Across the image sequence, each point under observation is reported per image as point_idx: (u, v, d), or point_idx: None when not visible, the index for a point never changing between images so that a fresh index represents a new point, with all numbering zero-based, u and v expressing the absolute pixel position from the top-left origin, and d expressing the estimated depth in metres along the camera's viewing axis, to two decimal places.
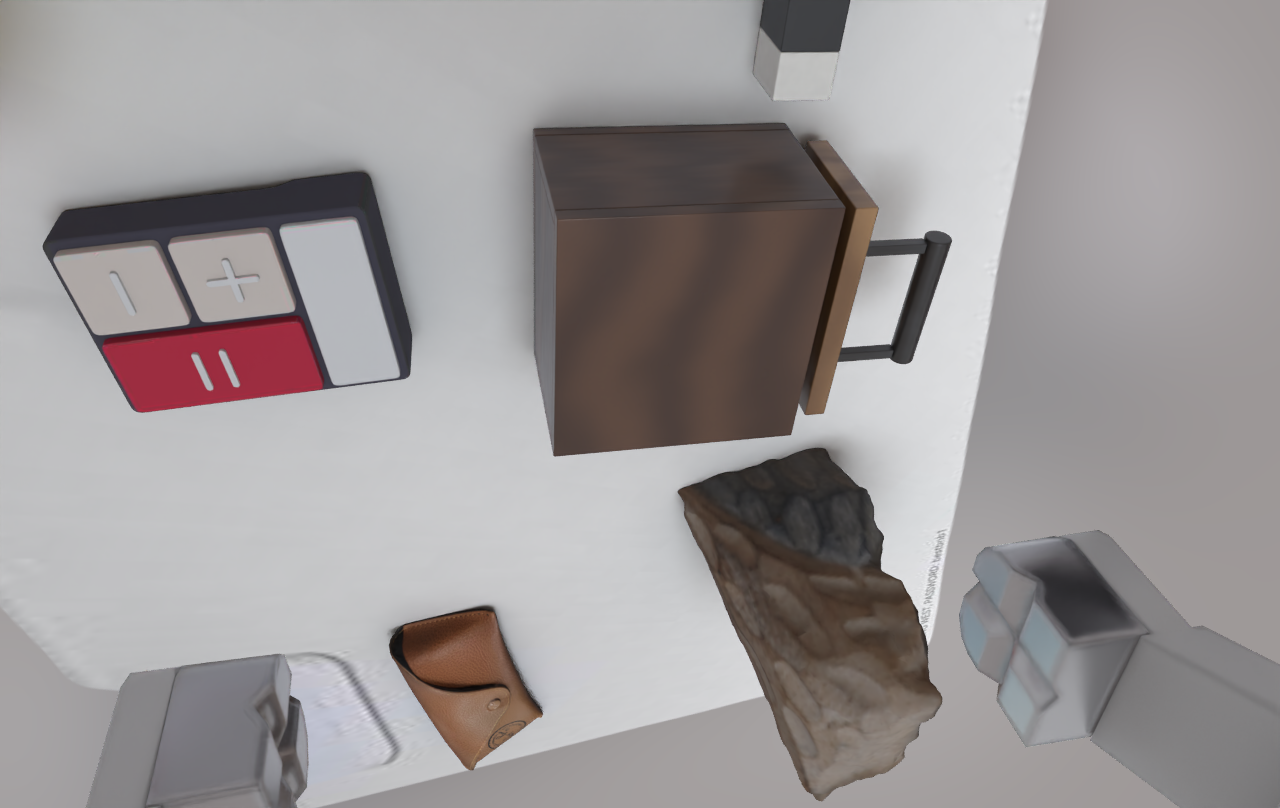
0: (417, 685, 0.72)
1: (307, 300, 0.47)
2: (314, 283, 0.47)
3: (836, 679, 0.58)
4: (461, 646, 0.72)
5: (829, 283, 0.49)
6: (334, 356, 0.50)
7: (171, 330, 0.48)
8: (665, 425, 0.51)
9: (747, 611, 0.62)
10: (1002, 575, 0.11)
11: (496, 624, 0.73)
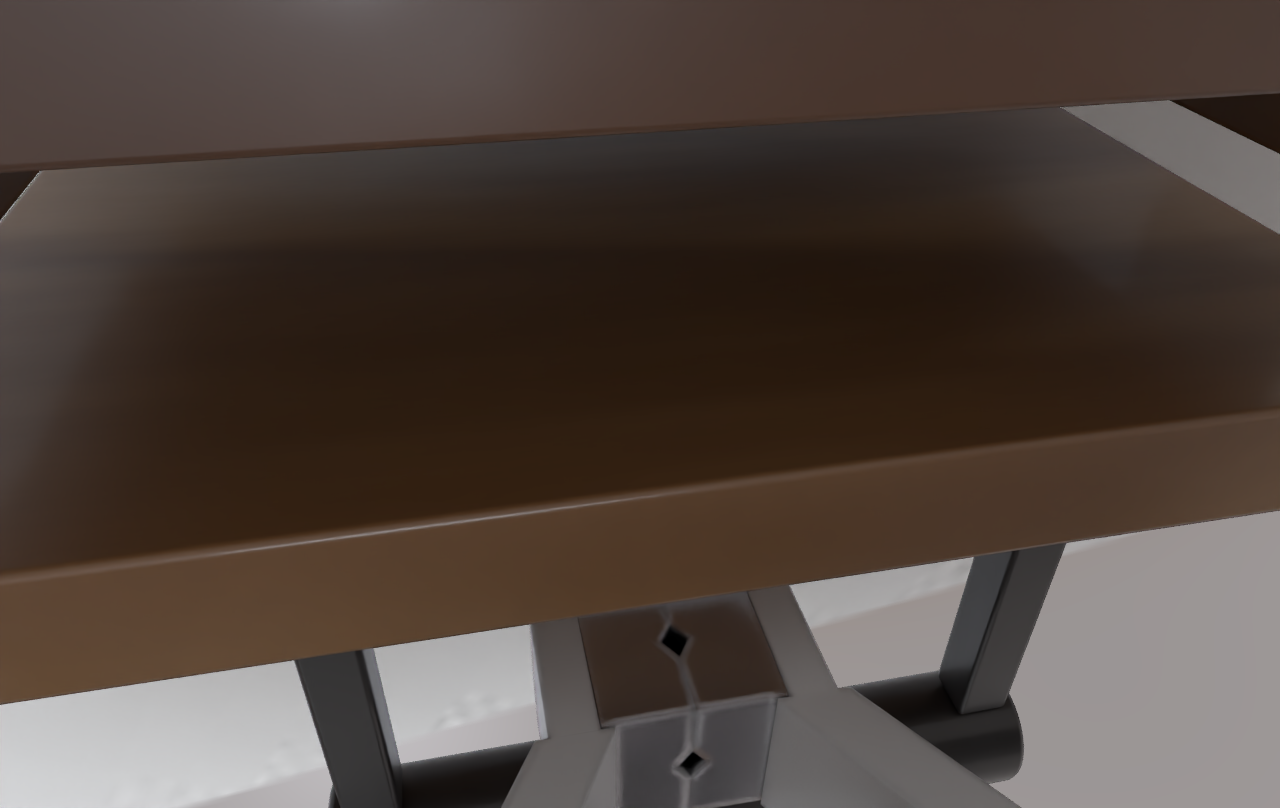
0: None
1: None
2: None
3: None
4: None
5: (947, 382, 0.08)
6: None
7: None
8: None
9: None
10: (665, 628, 0.10)
11: None
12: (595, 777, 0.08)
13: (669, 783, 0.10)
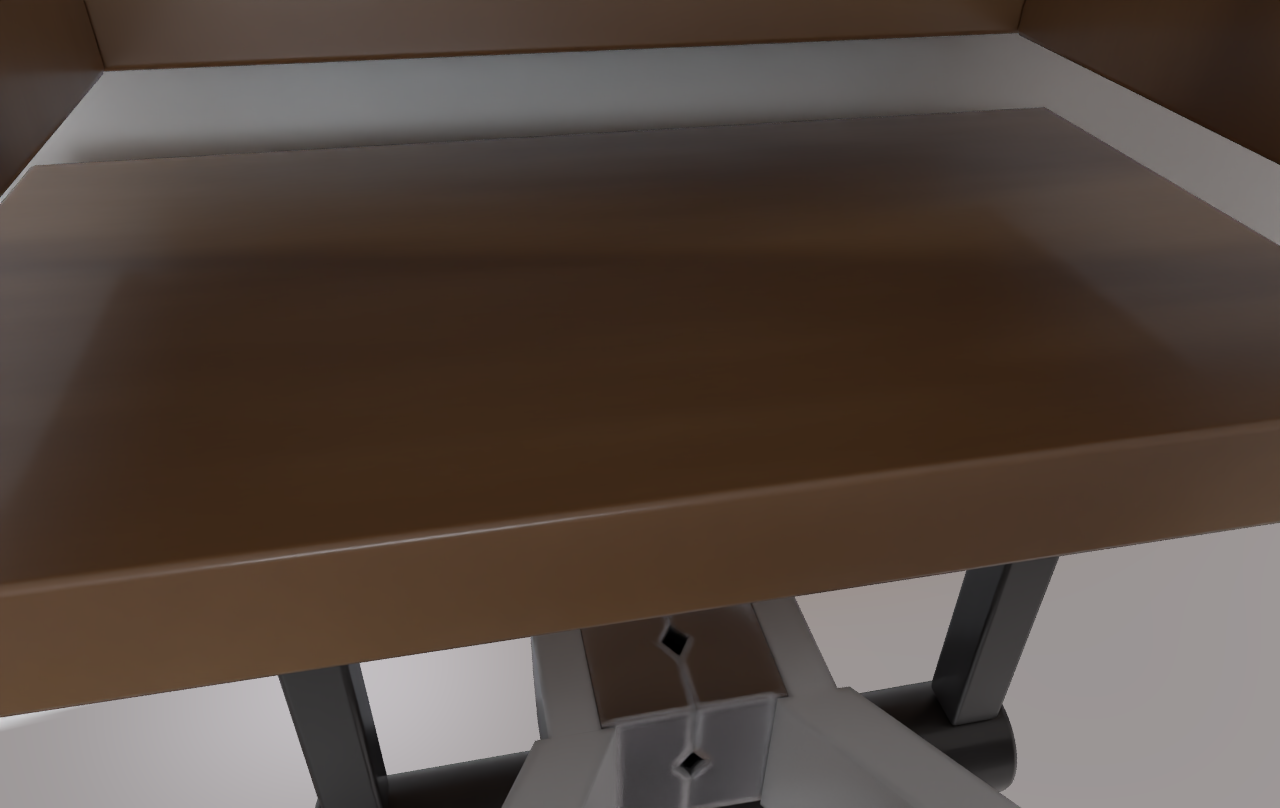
0: None
1: None
2: None
3: None
4: None
5: (939, 394, 0.08)
6: None
7: None
8: None
9: None
10: (665, 627, 0.10)
11: None
12: (596, 777, 0.08)
13: (669, 783, 0.10)
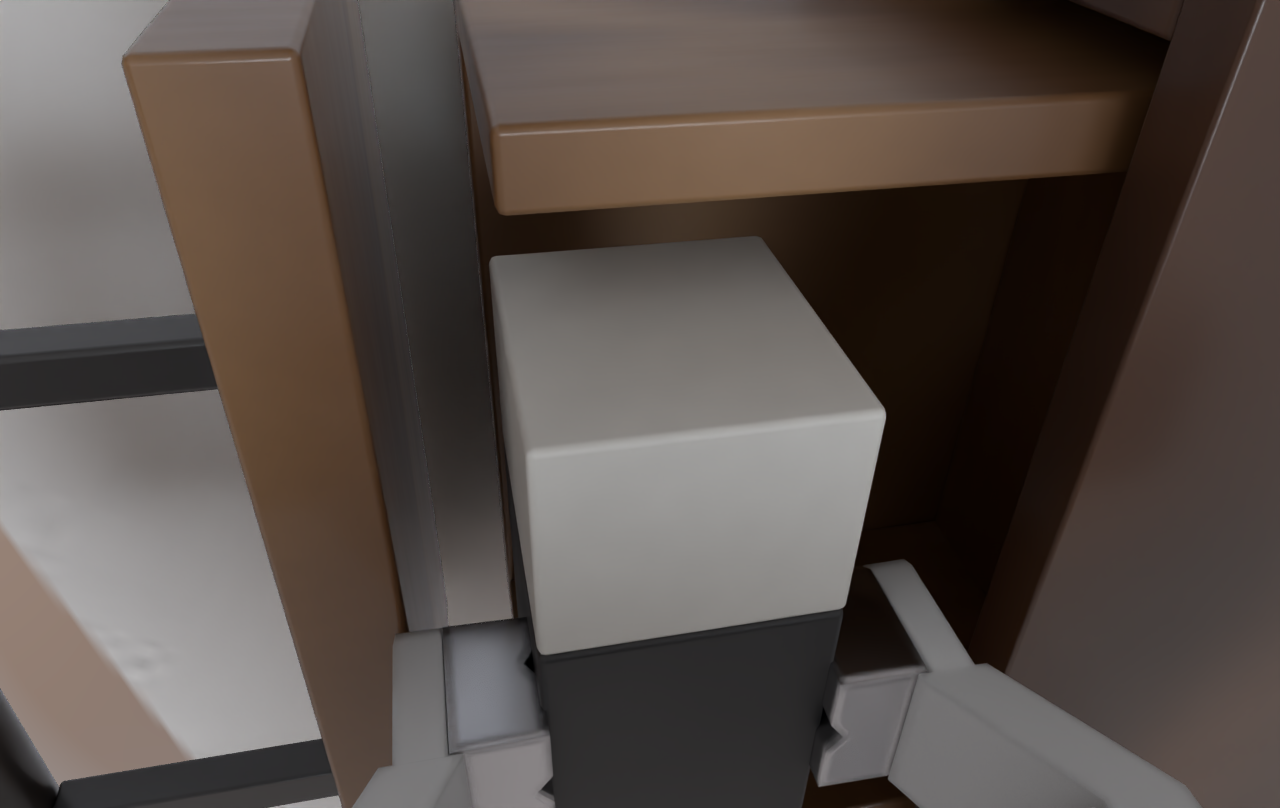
0: None
1: None
2: None
3: None
4: None
5: None
6: None
7: None
8: None
9: None
10: None
11: None
12: (435, 806, 0.08)
13: None
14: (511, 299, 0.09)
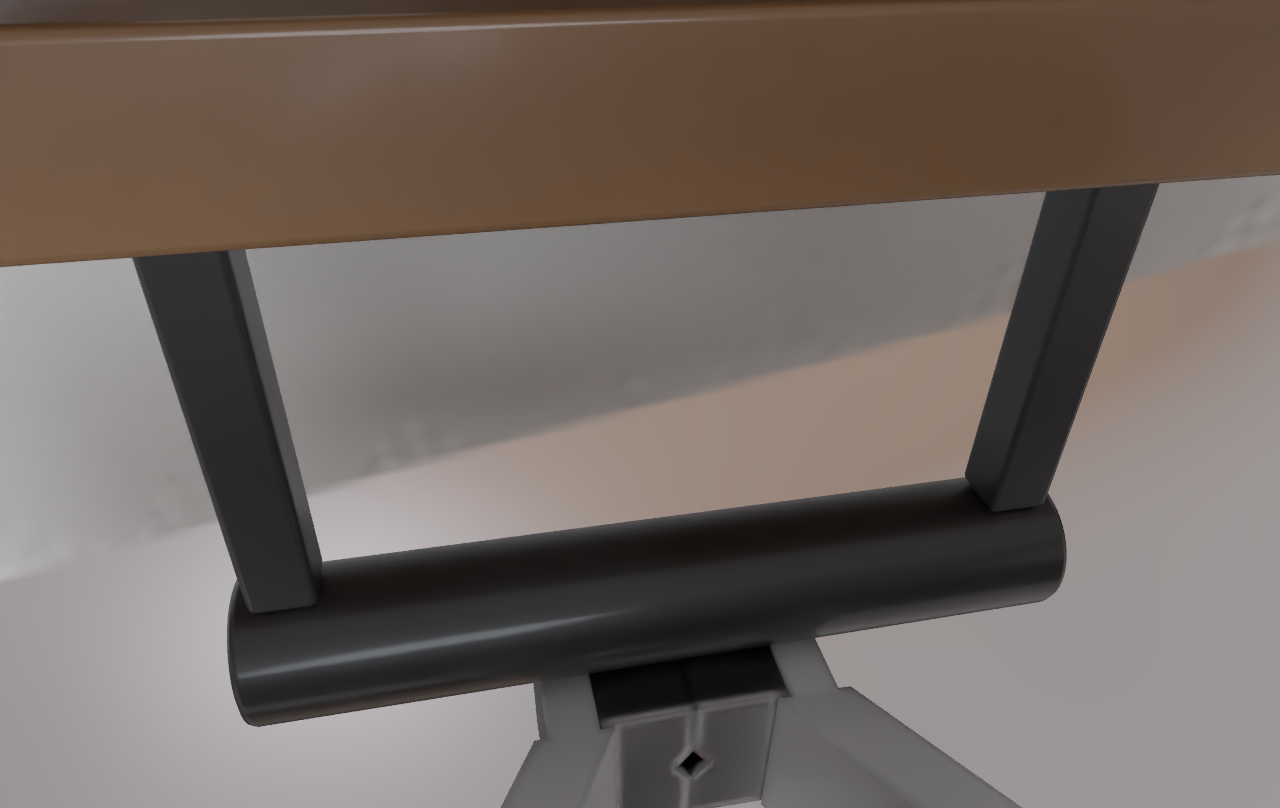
0: None
1: None
2: None
3: None
4: None
5: None
6: None
7: None
8: None
9: None
10: None
11: None
12: (595, 777, 0.08)
13: (669, 783, 0.10)
14: None
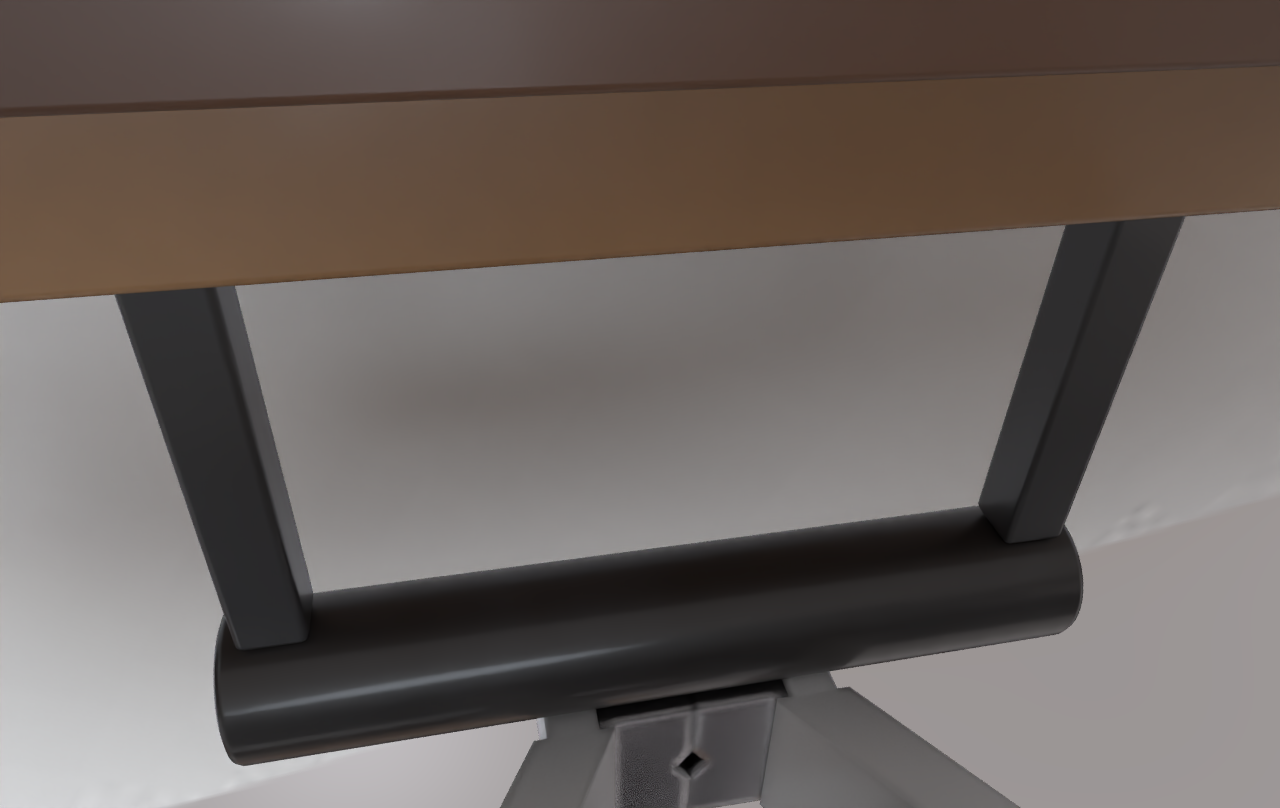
0: None
1: None
2: None
3: None
4: None
5: None
6: None
7: None
8: None
9: None
10: None
11: None
12: (595, 779, 0.08)
13: (668, 783, 0.10)
14: None
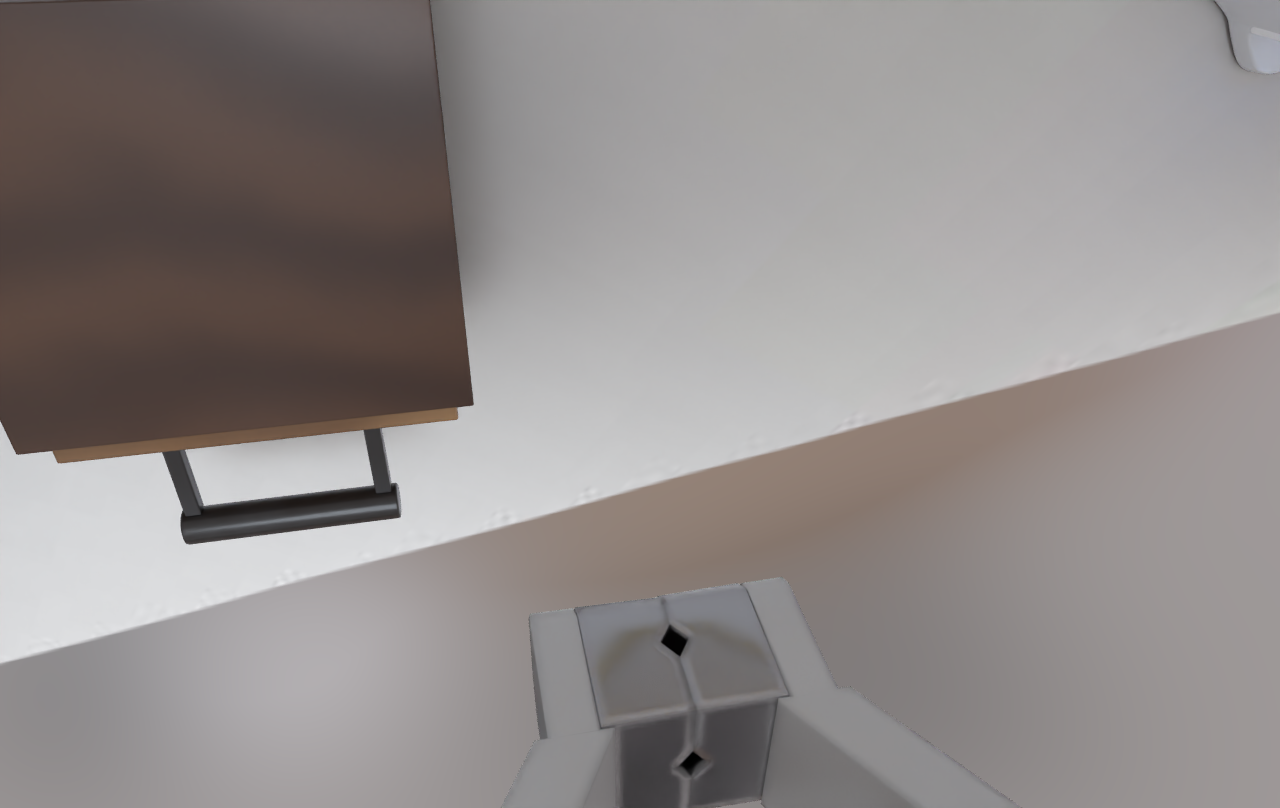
0: None
1: None
2: None
3: None
4: None
5: None
6: None
7: None
8: None
9: None
10: (665, 628, 0.10)
11: None
12: (595, 779, 0.08)
13: (669, 783, 0.10)
14: None
